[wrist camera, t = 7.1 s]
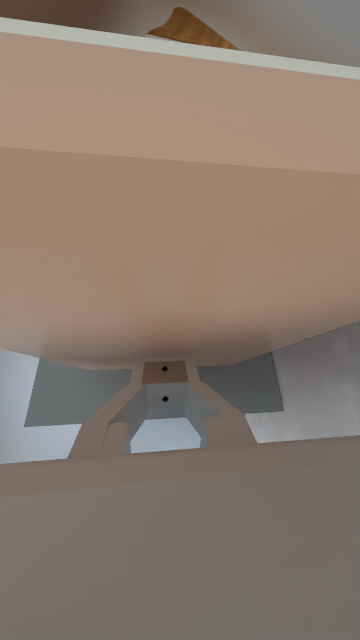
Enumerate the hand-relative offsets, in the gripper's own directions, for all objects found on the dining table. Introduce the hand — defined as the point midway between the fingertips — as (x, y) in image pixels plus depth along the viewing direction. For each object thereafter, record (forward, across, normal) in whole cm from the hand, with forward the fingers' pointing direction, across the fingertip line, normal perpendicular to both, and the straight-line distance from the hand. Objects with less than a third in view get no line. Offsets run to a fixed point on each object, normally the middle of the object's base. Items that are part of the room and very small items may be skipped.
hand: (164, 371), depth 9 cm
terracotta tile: (+6, 0, +3) cm, 7 cm away
